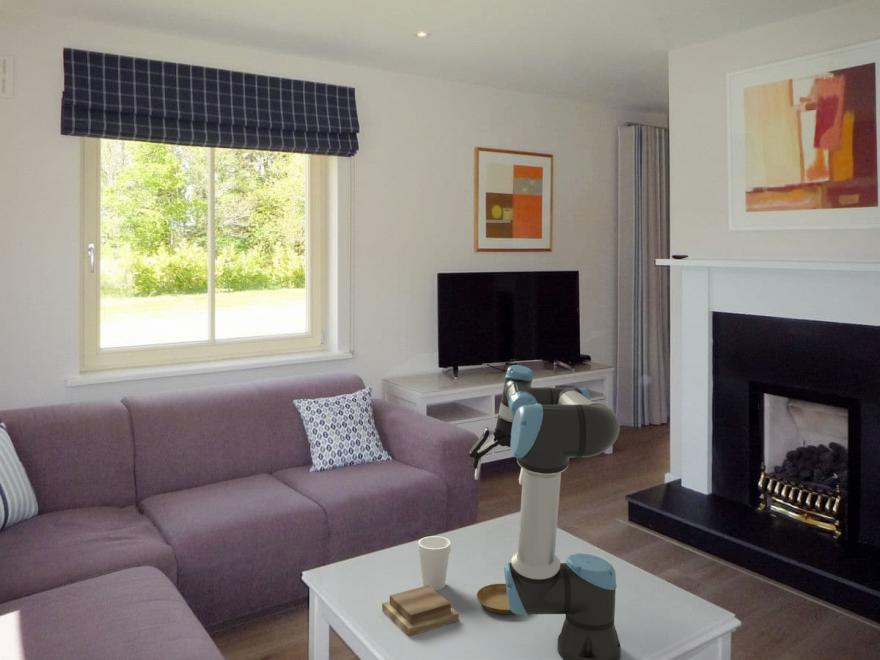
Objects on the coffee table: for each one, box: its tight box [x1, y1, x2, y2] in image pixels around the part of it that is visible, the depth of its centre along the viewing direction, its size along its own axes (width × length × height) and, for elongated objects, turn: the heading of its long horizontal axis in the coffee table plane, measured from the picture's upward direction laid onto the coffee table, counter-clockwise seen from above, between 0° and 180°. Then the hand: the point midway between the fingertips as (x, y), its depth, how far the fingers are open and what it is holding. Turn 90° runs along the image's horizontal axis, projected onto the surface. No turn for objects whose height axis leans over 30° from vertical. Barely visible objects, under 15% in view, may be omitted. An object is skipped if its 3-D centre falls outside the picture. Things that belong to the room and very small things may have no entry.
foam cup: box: [417, 535, 452, 591], centre depth 210 cm, size 10×9×13 cm
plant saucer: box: [476, 583, 514, 615], centre depth 200 cm, size 15×15×3 cm
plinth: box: [381, 585, 460, 637], centre depth 194 cm, size 15×15×4 cm
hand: (498, 480), depth 219 cm, fingers open, 13 cm apart
